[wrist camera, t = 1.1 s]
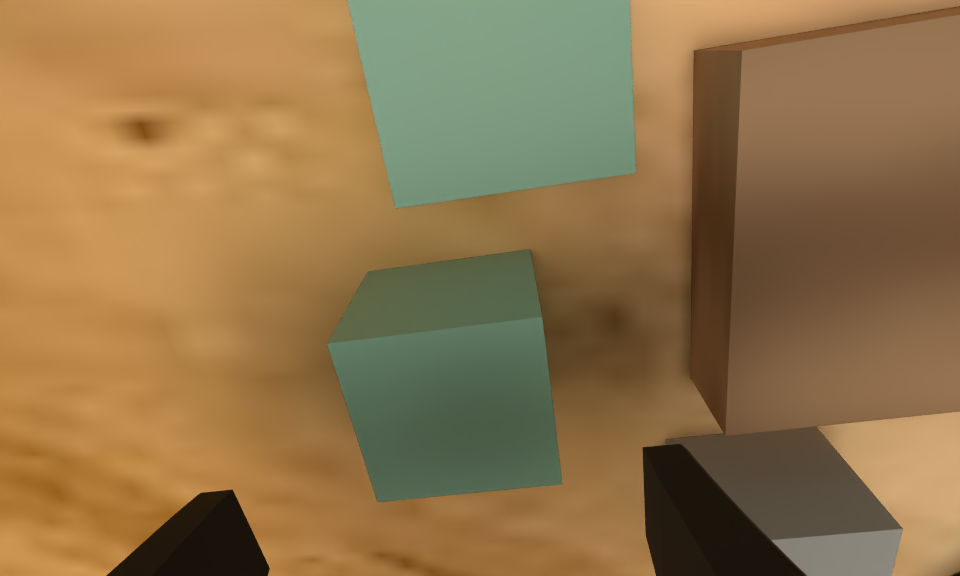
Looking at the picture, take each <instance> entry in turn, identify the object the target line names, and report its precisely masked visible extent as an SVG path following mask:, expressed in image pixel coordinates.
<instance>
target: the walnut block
mask: <svg viewBox="0 0 960 576" xmlns="http://www.w3.org/2000/svg"><path fill="white" fill-rule="evenodd" d="M691 379H692V381H693V383H694V384H695V386H696V388H697V389H698V391H699V393H700V394H701V396H702V398H703V399H704V401H705V403H706V404H707V406H708V408H709V409H710V411H711V413H712V414H713V416H714V418H715V419H716V421H717V423H718V424H719V426H720V428H721V429H722V431H723V433H724V434H725V436H728V435H738V434H747V433H757V432H766V431H776V430H786V429H795V428H805V427H815V426H824V425H834V424H844V423H853V422H863V421H873V420H882V419H892V418H901V417H911V416H921V415H930V414H940V413H950V412H959V411H960V6H959V7H953V8H947V9H941V10H935V11H929V12H923V13H917V14H911V15H905V16H899V17H893V18H887V19H881V20H875V21H869V22H863V23H857V24H851V25H845V26H839V27H833V28H827V29H821V30H815V31H809V32H803V33H797V34H791V35H785V36H779V37H773V38H767V39H761V40H755V41H749V42H743V43H737V44H731V45H725V46H719V47H713V48H707V49H701V50H695V51H694V72H693V174H692V276H691Z"/></svg>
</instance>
